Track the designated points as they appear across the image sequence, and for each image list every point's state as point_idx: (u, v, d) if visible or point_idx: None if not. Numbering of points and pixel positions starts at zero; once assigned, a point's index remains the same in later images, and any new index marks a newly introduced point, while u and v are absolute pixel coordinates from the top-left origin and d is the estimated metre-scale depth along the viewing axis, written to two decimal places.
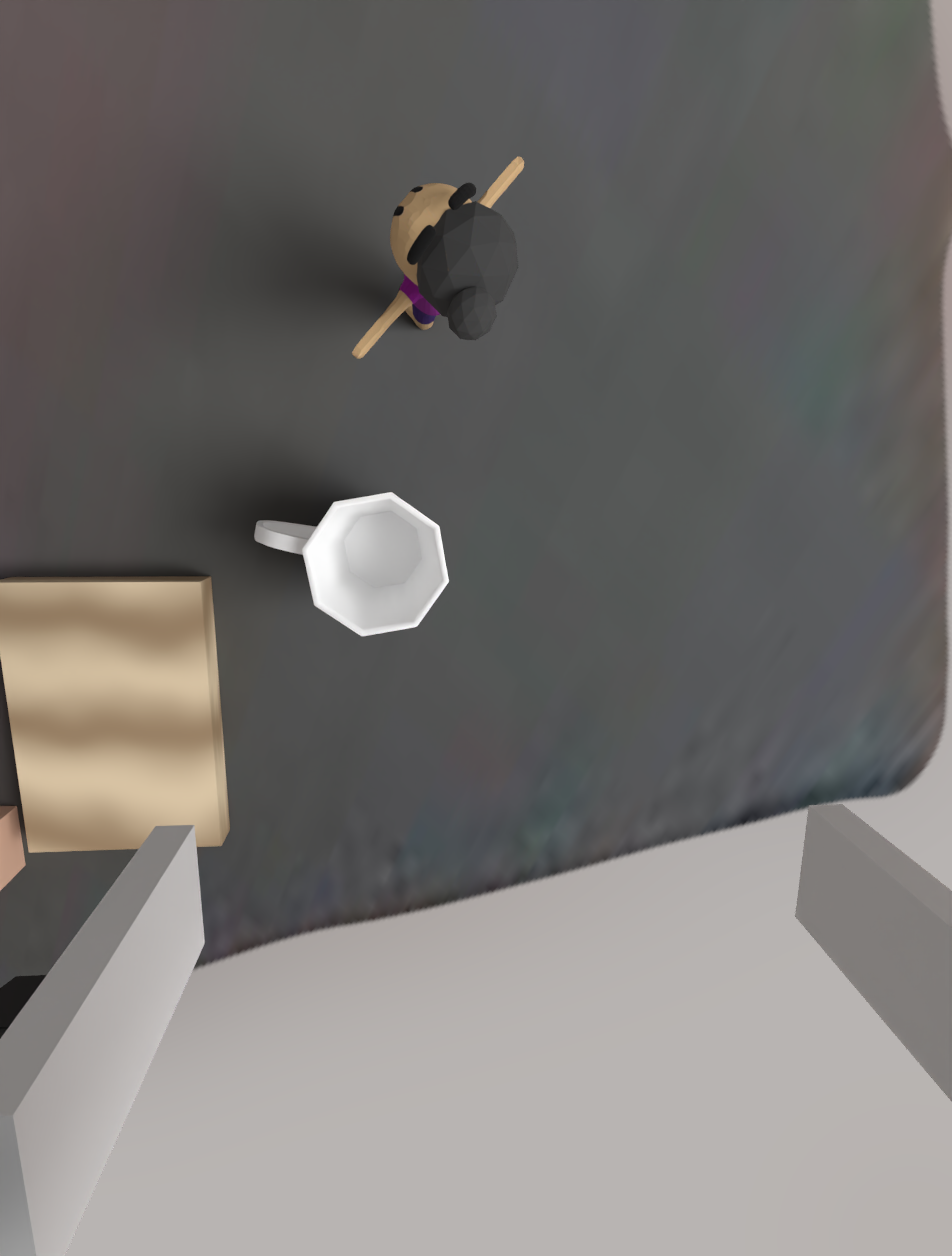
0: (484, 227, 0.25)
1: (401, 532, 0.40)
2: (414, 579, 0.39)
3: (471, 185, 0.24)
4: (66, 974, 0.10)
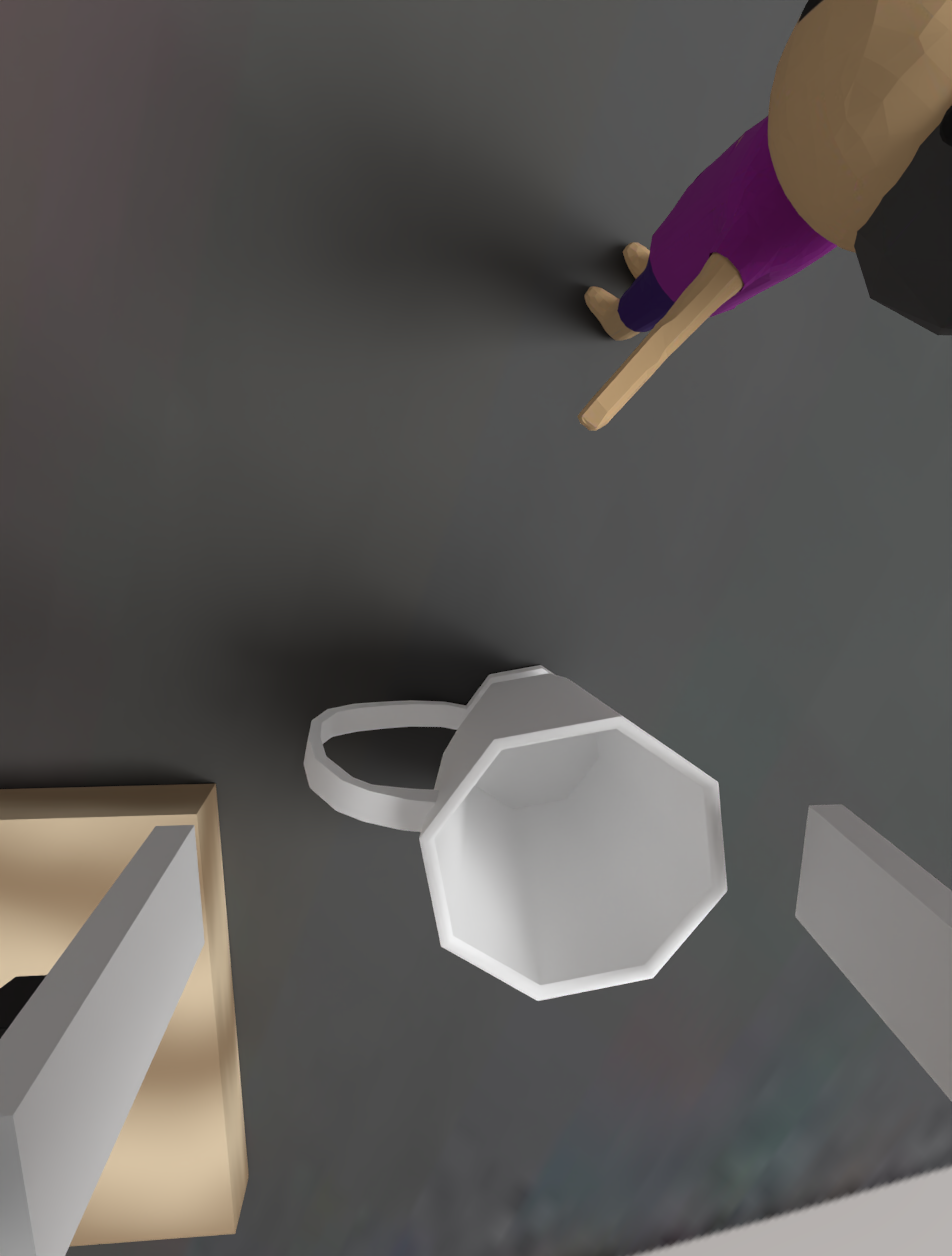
0: None
1: None
2: (597, 811, 0.21)
3: None
4: (66, 974, 0.10)
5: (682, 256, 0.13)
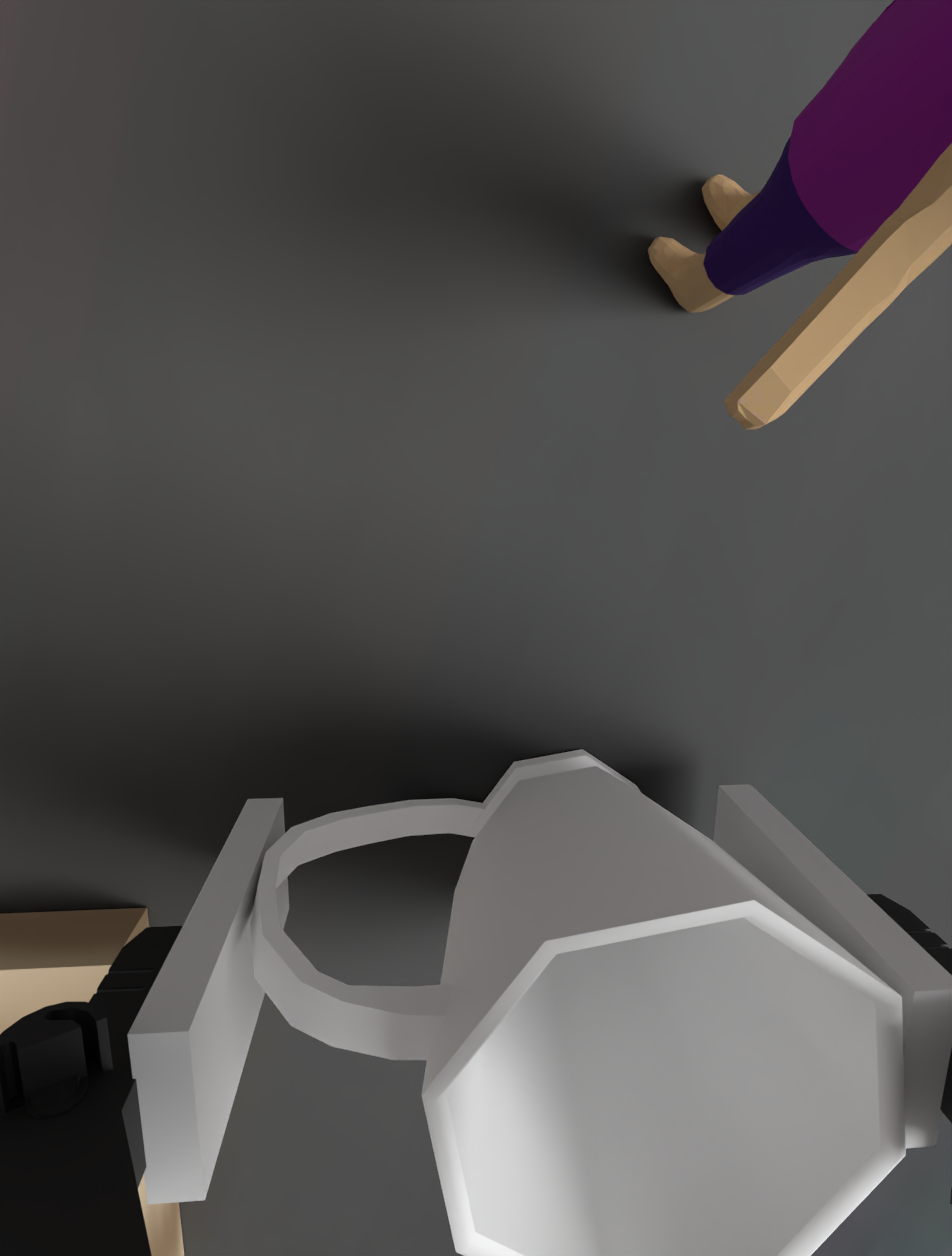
0: None
1: None
2: (667, 962, 0.15)
3: None
4: (202, 921, 0.11)
5: (871, 133, 0.08)
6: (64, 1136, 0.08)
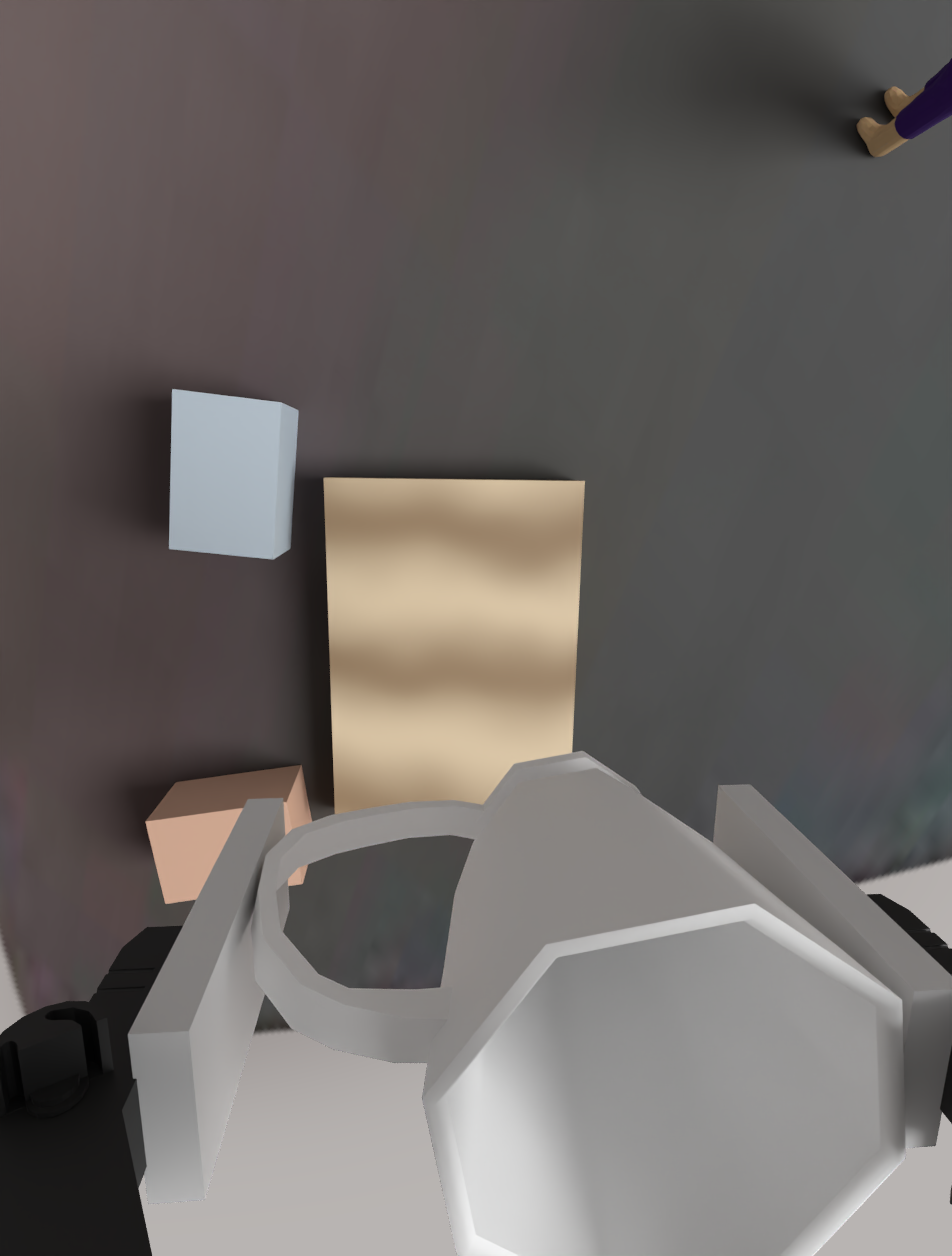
0: None
1: None
2: (667, 963, 0.15)
3: None
4: (202, 921, 0.11)
5: None
6: (65, 1136, 0.08)
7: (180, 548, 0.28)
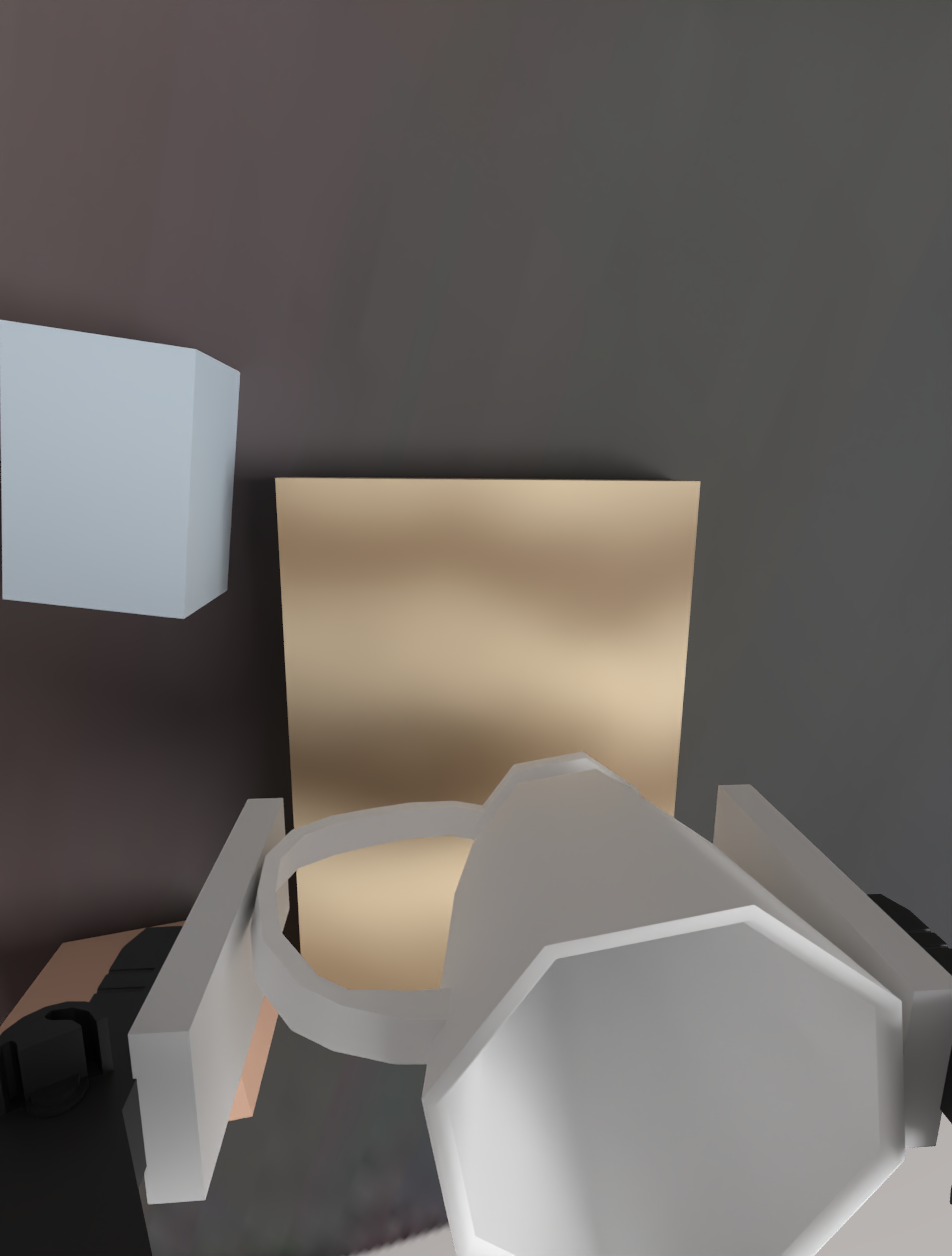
0: None
1: None
2: (667, 964, 0.15)
3: None
4: (202, 921, 0.11)
5: None
6: (65, 1136, 0.08)
7: (22, 598, 0.16)
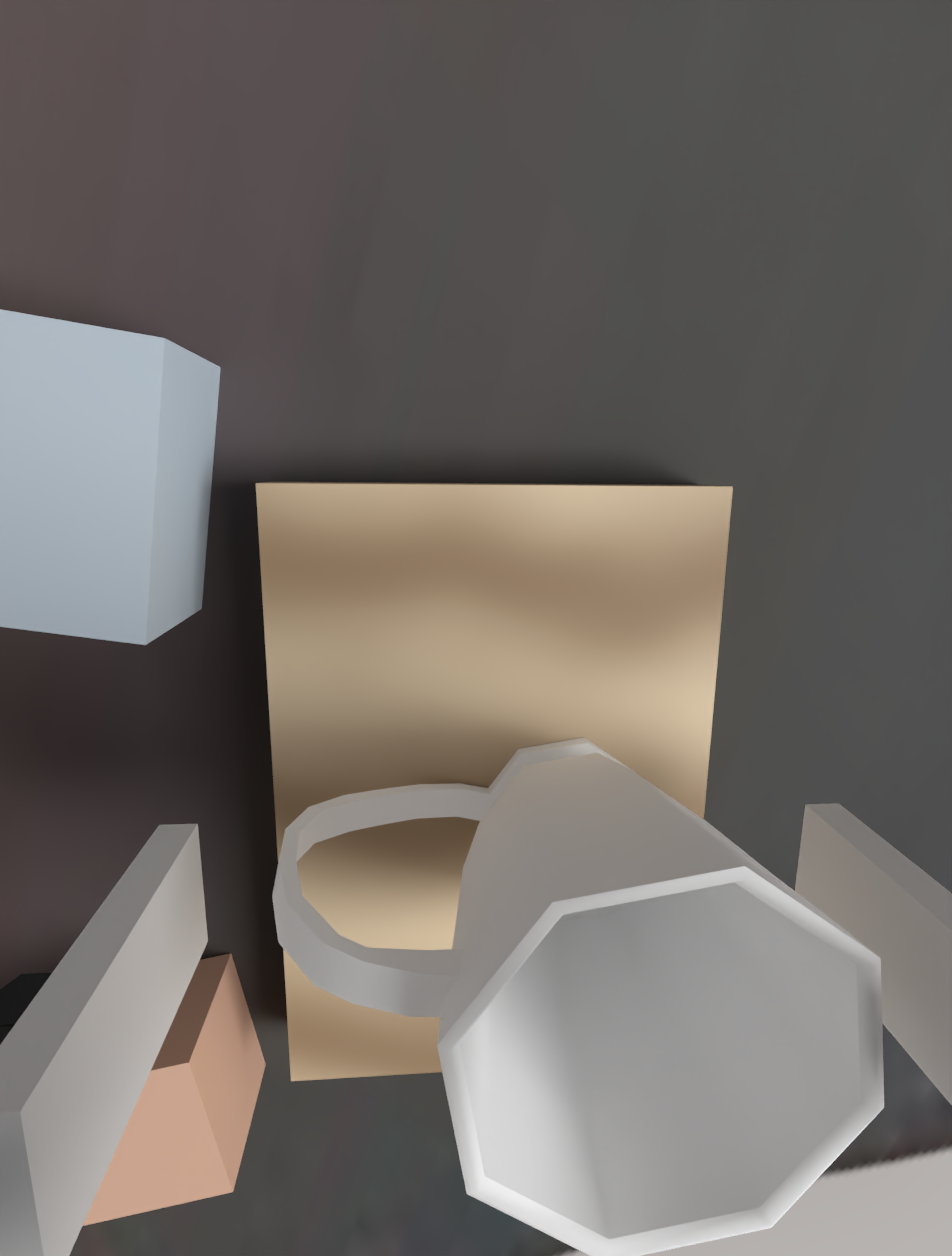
0: None
1: None
2: (663, 938, 0.16)
3: None
4: (72, 972, 0.10)
5: None
6: None
7: None
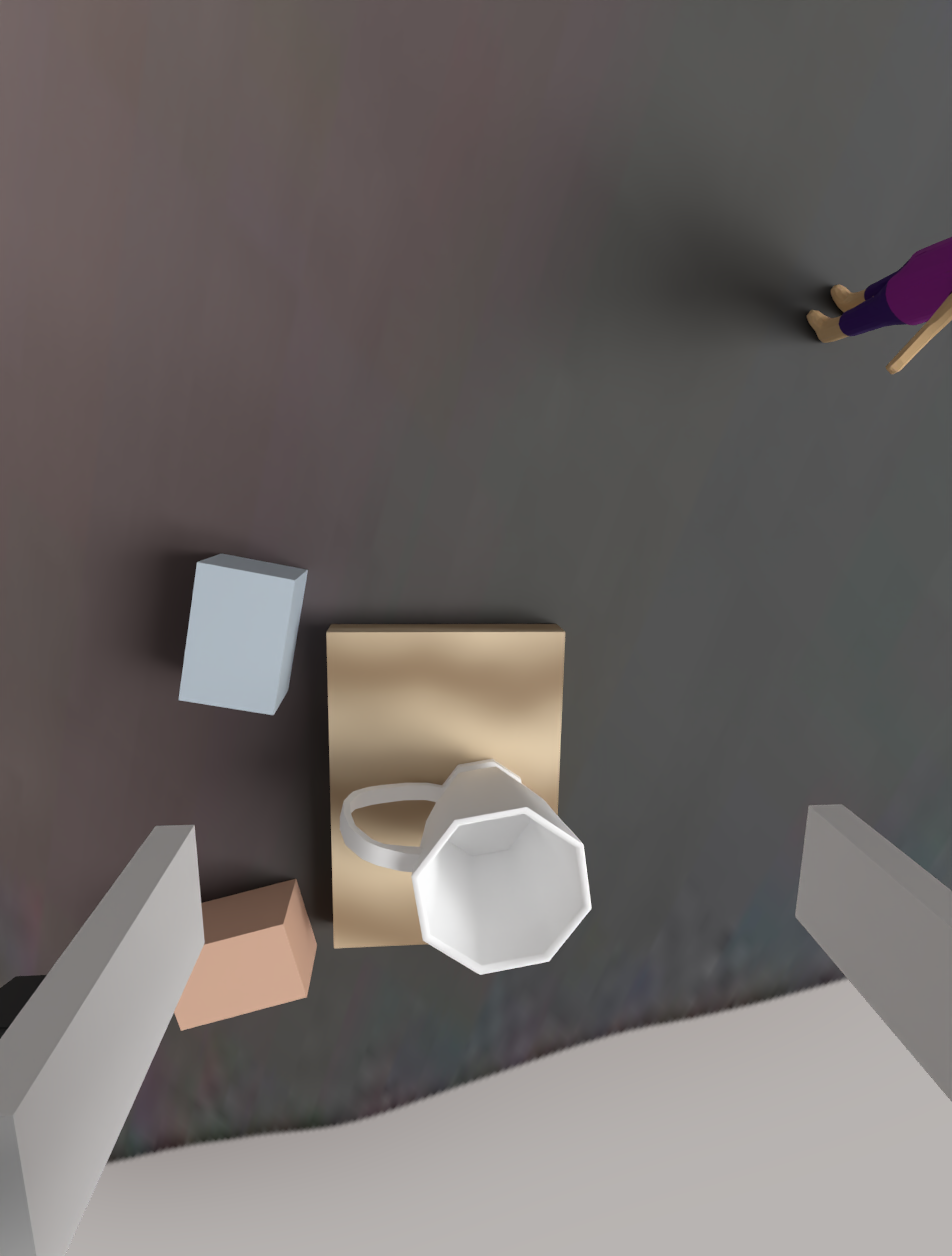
0: None
1: None
2: (526, 858, 0.32)
3: None
4: (66, 974, 0.10)
5: (916, 292, 0.26)
6: None
7: (189, 700, 0.30)
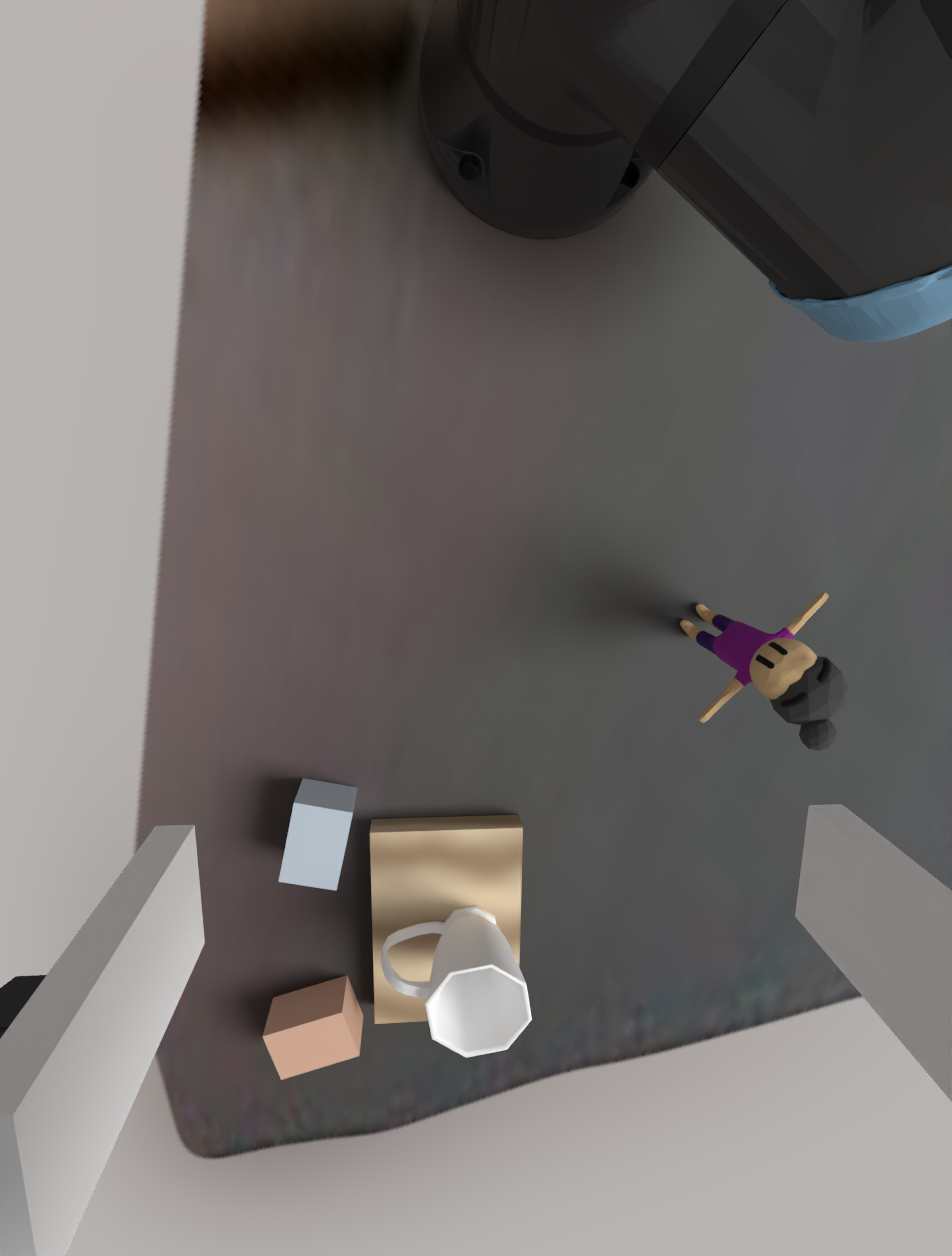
0: (835, 686, 0.37)
1: None
2: (497, 975, 0.50)
3: (830, 664, 0.37)
4: (66, 974, 0.10)
5: (725, 659, 0.44)
6: None
7: (285, 881, 0.48)
